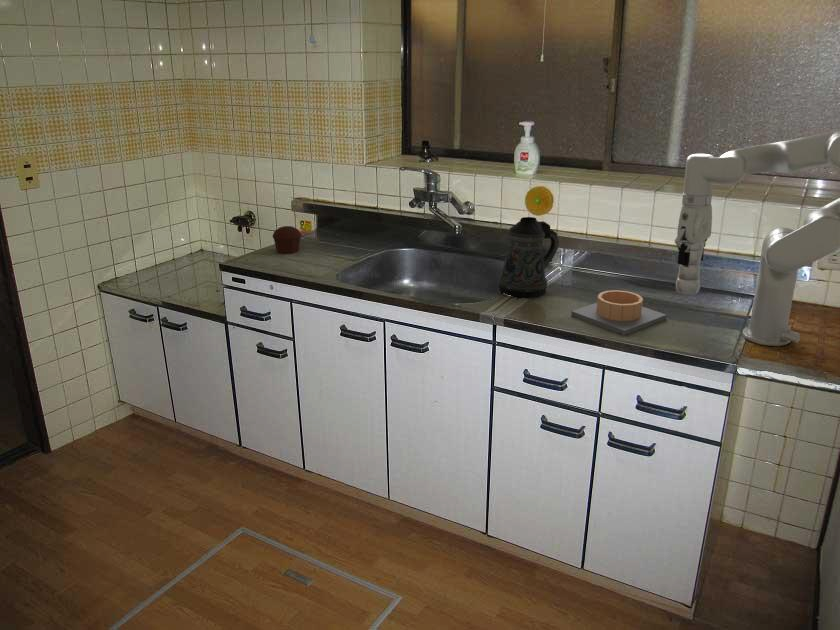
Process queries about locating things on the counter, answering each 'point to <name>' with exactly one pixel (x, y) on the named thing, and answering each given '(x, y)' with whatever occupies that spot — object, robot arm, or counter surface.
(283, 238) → the muffin
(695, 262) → the plastic bottle
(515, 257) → the beer stein
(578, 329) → the counter surface
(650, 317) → the duct base
